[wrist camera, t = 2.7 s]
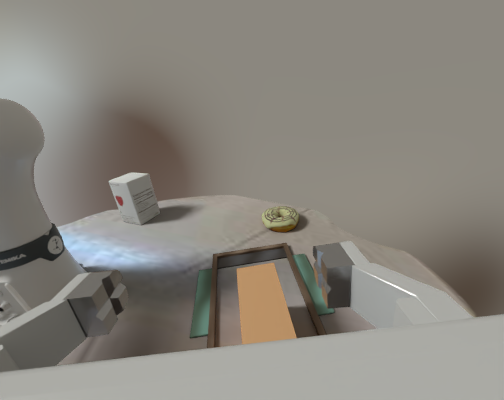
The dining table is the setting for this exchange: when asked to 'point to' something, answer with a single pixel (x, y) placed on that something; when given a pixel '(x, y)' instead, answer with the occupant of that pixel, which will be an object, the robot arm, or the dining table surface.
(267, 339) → the orange block
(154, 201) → the supplement box
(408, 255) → the dining table surface
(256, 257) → the trap lane
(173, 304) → the dining table surface
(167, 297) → the dining table surface
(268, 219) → the decorated donut
